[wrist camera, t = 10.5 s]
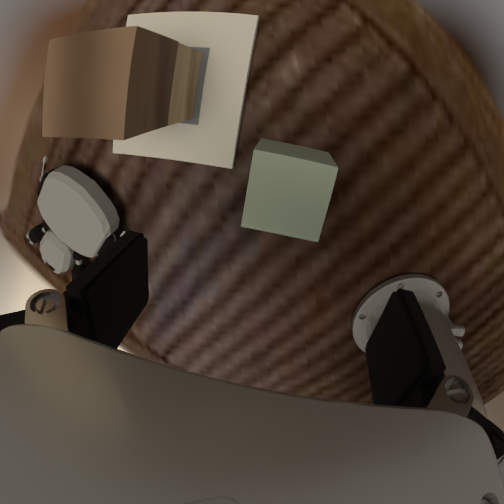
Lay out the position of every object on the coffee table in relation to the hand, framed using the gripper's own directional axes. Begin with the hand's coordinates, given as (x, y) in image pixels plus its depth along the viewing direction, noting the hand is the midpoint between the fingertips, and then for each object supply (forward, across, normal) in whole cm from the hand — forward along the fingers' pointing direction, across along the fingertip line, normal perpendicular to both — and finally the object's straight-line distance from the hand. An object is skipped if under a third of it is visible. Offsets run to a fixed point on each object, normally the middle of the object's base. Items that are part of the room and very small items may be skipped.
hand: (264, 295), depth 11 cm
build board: (+18, +11, -7) cm, 22 cm away
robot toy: (+18, +23, +9) cm, 30 cm away
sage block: (+18, 0, 0) cm, 18 cm away
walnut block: (+10, +12, -7) cm, 17 cm away
